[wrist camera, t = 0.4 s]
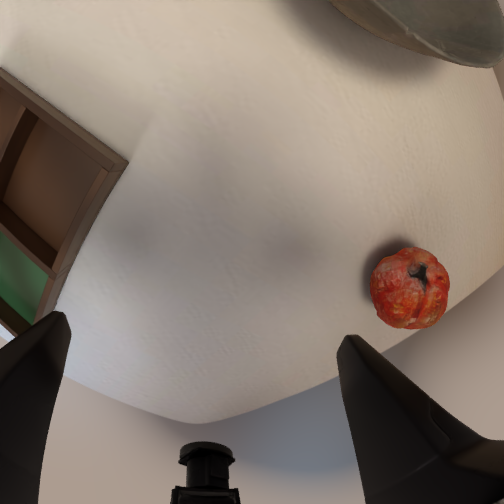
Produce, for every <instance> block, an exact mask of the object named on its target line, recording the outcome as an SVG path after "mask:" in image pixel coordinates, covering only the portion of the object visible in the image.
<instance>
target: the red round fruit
mask: <svg viewBox="0 0 504 504" xmlns="http://www.w3.org/2000/svg"><path fill="white" fill-rule="evenodd" d="M449 288H450V281H449V276H448V273H447V271H446V270H445V268H444V266H442V265H441V264H440V263H439V262H438V260H437V258H436V257H435V256H434V255H433V254H431V253H430V252H428V251H426V250H423V249H421V248H418V247H413V248H403V249H402V250H400V251H399V252H398V253H396V254H395V255H392V256H389V257H384V258H383V259H382V260H381V261H380V262H379V264H378V265H377V266H376V268H375V270H374V271H373V272H372V275H371V278H370V293H371V298H372V301H373V304H374V306H375V309H376V311H377V316H378V317H379V318H380V319H381V320H383V321H384V322H385V323H386V324H388V325H390V326H392V327H394V328H405V329H421V328H427V327H430V326H432V325H434V324H435V323H436V322H437V321H438V320H439V319H440V318H441V316H442V315H443V314H444V312H445V310H446V308H447V300H448V291H449Z"/></svg>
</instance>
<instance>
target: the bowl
mask: <svg viewBox="0 0 504 504" xmlns="http://www.w3.org/2000/svg"><path fill="white" fill-rule="evenodd" d="M329 1H330V2H331V4H332V5H333V6H334V7H336V8H337V9H338V10H339V11H340V12H342V13H343V14H344V15H345V16H347V17H348V18H350V19H351V20H352V21H353V22H355V23H356V24H358V25H359V26H361V27H363V28H364V29H366V30H367V31H369V32H371V33H373V34H374V35H376V36H378V37H380V38H382V39H384V40H387V41H389V42H391V43H394V44H396V45H399V46H401V47H404V48H406V49H409V50H412V51H415V52H418V53H421V54H424V55H428V56H432V57H436V58H440V59H442V60H445V61H449V62H452V63H456V64H459V65H463V66H469V67H476V68H491V67H494V66H495V65H497V64H498V63H499V62H500V61H501V60H502V59H503V58H504V16H503V14H502V11H501V8H500V6H499V3H498V1H497V0H329Z"/></svg>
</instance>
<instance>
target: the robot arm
mask: <svg viewBox="0 0 504 504" xmlns="http://www.w3.org/2000/svg"><path fill="white" fill-rule="evenodd" d="M70 340H71V329H70V327H69V324H68V321H67V318H66V315H65V314H64V313H63V312H59V311H52V312H50V313H49V314H48V315H46V316H45V317H43V318H42V319H40V320H39V321H38V322H36V323H35V324H33V325H32V326H31V327H29V328H28V329H26V330H25V331H24V332H22V333H21V334H20V335H18V336H17V337H15V338H14V339H13V340H11V341H10V342H9V343H7V344H6V345H5V346H4V347H2V348H1V349H0V504H38V495H39V485H40V476H41V469H42V462H43V455H44V450H45V445H46V439H47V434H48V430H49V426H50V421H51V417H52V413H53V408H54V405H55V401H56V397H57V394H58V390H59V387H60V384H61V380H62V376H63V372H64V367H65V362H66V357H67V353H68V349H69V344H70ZM337 364H338V371H339V378H340V385H341V392H342V397H343V402H344V406H345V410H346V414H347V418H348V422H349V427H350V431H351V435H352V439H353V444H354V448H355V453H356V457H357V462H358V466H359V471H360V476H361V481H362V486H363V491H364V496H365V502H366V504H504V440H490V439H487V438H484V437H482V436H480V435H479V434H477V433H476V432H475V431H473V430H472V429H470V428H469V427H468V426H466V425H465V424H463V423H462V422H460V421H459V420H458V419H456V418H455V417H454V416H452V415H451V414H450V413H448V412H447V411H446V410H445V409H444V408H442V407H441V406H440V405H439V404H438V403H436V402H435V401H434V400H433V399H432V398H430V397H429V396H428V395H427V394H426V393H425V392H424V391H423V390H421V389H420V388H419V387H418V386H417V385H416V384H414V383H413V382H412V381H411V380H410V379H408V377H406V376H405V375H404V374H403V373H402V372H401V371H399V370H398V369H397V368H396V367H395V366H394V365H393V364H391V363H390V362H389V361H388V360H387V359H385V358H384V357H383V356H382V355H381V354H380V353H379V352H377V351H376V350H375V349H374V348H373V347H372V346H371V345H369V344H368V343H367V342H366V341H365V340H364V339H362V338H361V337H360V336H359V335H346V336H345V337H344V339H343V341H342V343H341V345H340V347H339V349H338V351H337ZM234 462H235V458H233V457H230V456H227V455H223V454H220V453H217V452H214V451H211V450H208V449H205V448H202V447H198V448H196V449H195V450H193V451H192V452H190V453H189V454H187V455H186V456H184V457H183V458H181V459H180V460H178V463H179V464H181V465H184V466H187V476H186V487H180V486H175V489H172V495H171V502H170V504H241V503H240V497H239V491H238V488H234V489H229V481H228V480H229V469H228V465H230V464H232V463H234Z"/></svg>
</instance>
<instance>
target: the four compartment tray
mask: <svg viewBox="0 0 504 504" xmlns="http://www.w3.org/2000/svg"><path fill="white" fill-rule="evenodd" d="M128 164H129V162H128V161H127V160H125V159H124V158H123V157H121V156H120V155H119V154H117V153H116V152H114V151H113V150H112V149H110V148H109V147H108V146H106V145H105V144H104V143H102V142H101V141H100V140H98V139H97V138H95V137H94V136H93V135H91V134H90V133H89V132H87V131H86V130H85V129H83V128H82V127H81V126H79V125H78V124H76V123H75V122H74V121H72V120H71V119H70V118H68V117H67V116H66V115H64V114H63V113H62V112H60V111H59V110H57V109H56V108H55V107H53V106H52V105H51V104H49V103H48V102H47V101H45V100H44V99H43V98H41V97H40V96H39V95H37V94H36V93H34V92H33V91H32V90H30V89H29V88H28V87H26V86H25V85H24V84H22V83H21V82H20V81H18V80H17V79H16V78H14V77H13V76H11V75H10V74H9V73H7V72H6V71H5V70H3V69H2V68H1V67H0V324H1V325H2V326H3V327H4V328H6V329H7V330H8V331H9V332H10V333H11V334H12V335H13V336H14V337H17V336H18V335H20V334H21V333H22V332H24V331H25V330H26V329H28V328H29V327H31V326H32V325H33V324H35V323H36V322H38V321H39V320H40V319H42V318H43V317H45V316H46V315H48V314H49V313H50V312H52V311H53V310H54V307H55V305H56V302H57V300H58V297H59V295H60V292H61V290H62V287H63V285H64V282H65V280H66V278H67V275H68V273H69V271H70V269H71V266H72V264H73V262H74V260H75V258H76V256H77V253H78V251H79V249H80V247H81V245H82V243H83V241H84V239H85V237H86V235H87V233H88V231H89V230H90V228H91V226H92V224H93V222H94V220H95V218H96V216H97V215H98V213H99V211H100V209H101V208H102V206H103V204H104V202H105V201H106V199H107V197H108V195H109V194H110V192H111V190H112V189H113V187H114V186H115V184H116V182H117V181H118V179H119V178H120V176H121V174H122V173H123V171H124V170H125V168H126V167H127V165H128Z"/></svg>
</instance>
